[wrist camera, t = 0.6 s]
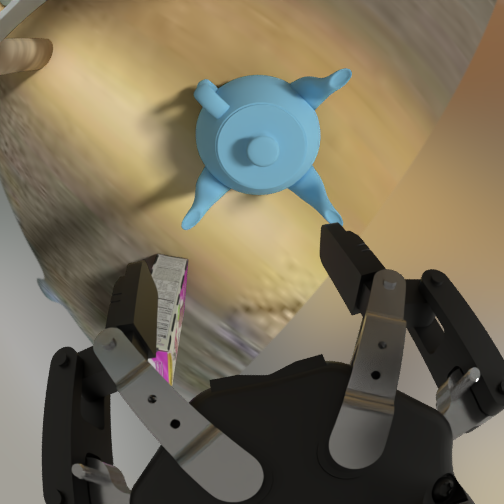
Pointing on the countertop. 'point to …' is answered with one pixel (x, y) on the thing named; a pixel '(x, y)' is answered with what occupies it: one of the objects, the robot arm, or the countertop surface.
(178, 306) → the candy bar box
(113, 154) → the countertop surface
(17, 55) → the beech cylinder
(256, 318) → the countertop surface
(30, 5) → the frosted wall
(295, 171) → the teapot
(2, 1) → the sage mat
